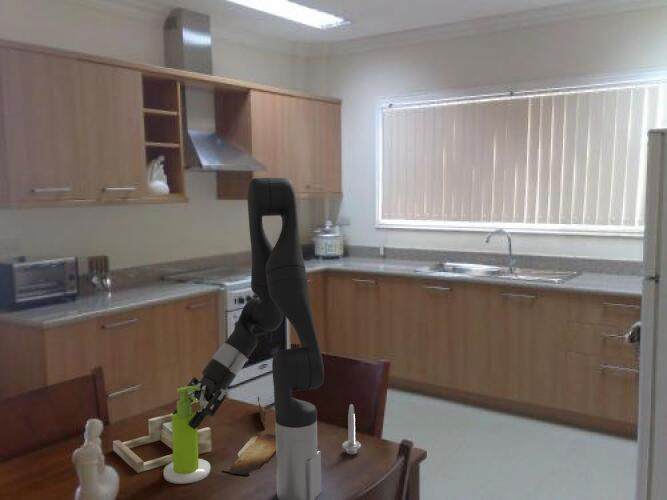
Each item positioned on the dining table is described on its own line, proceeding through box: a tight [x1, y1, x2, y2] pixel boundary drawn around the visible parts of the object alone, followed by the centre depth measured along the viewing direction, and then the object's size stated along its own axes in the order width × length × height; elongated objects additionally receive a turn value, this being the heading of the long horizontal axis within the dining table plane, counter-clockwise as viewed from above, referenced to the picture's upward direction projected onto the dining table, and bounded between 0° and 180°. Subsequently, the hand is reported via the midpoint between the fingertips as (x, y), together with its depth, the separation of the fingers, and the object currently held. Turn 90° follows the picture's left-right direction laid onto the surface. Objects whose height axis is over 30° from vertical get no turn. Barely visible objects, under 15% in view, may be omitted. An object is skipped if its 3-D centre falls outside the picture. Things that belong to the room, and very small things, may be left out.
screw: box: [341, 403, 362, 455], centre depth 159 cm, size 13×5×5 cm
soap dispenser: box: [172, 385, 201, 474], centre depth 148 cm, size 6×7×20 cm
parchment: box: [222, 433, 276, 477], centre depth 159 cm, size 25×10×1 cm, turn 167°
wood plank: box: [257, 396, 267, 429], centre depth 182 cm, size 15×2×5 cm, turn 13°
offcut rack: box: [112, 412, 212, 474], centre depth 161 cm, size 20×17×6 cm
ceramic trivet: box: [163, 458, 211, 485], centre depth 149 cm, size 11×11×1 cm
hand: (183, 422), depth 147 cm, fingers open, 8 cm apart
